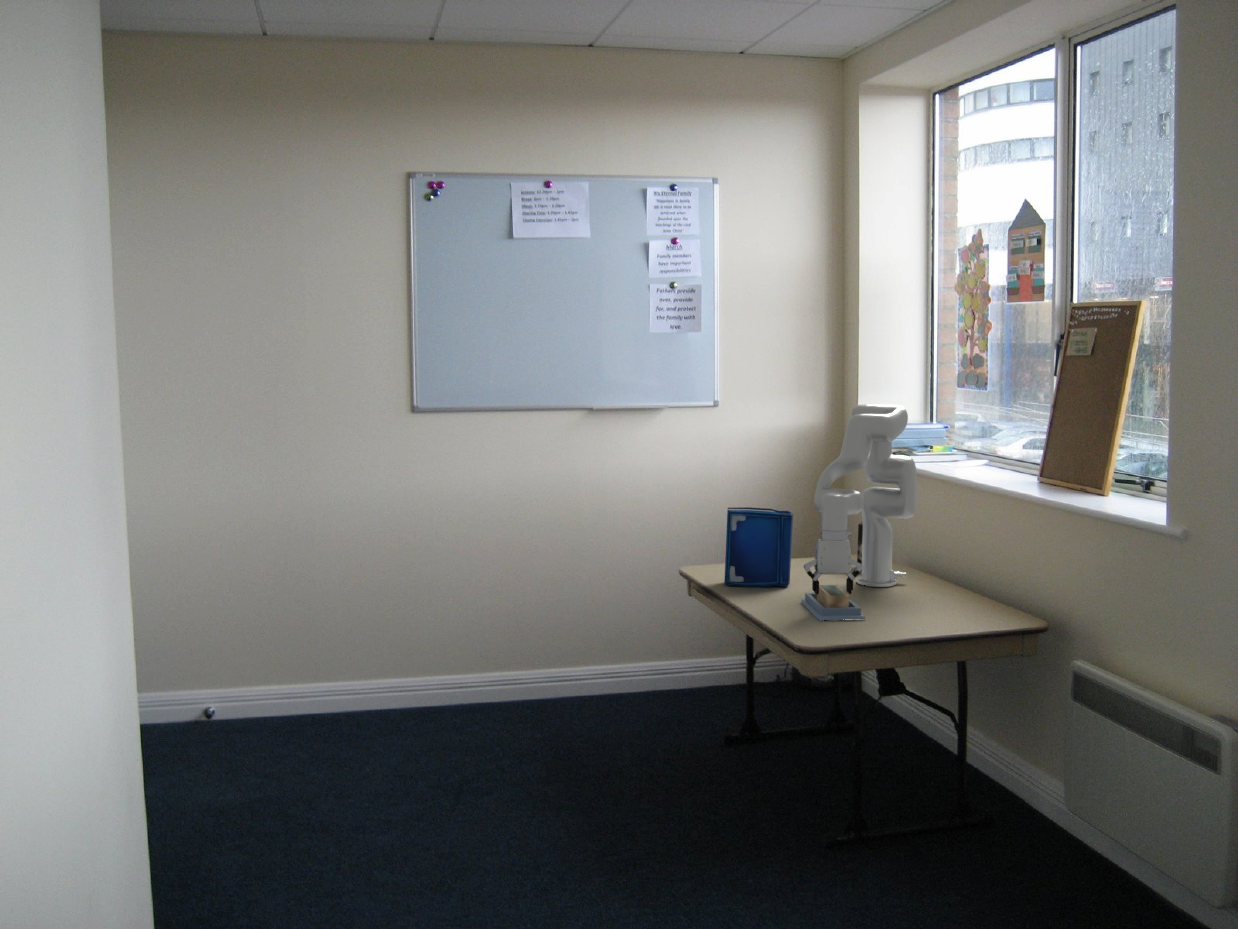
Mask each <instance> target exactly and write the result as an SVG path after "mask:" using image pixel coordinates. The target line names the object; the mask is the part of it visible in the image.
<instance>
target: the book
mask: <svg viewBox="0 0 1238 929" xmlns="http://www.w3.org/2000/svg"><path fill="white" fill-rule="evenodd" d="M793 521H794V513H792V512H791V511H789V510H777V509H773V508H766V507H765V508H763V507H751V506H750V507H749V506H748V507H741V506H740V507H738V506H737V507H727V514H726V540H725V542H726V543H725V560H724V561H725V562H724V564H725V565H724V582H723V583H724V584H723V585H725V586H735V587H744V586H749V587H748V588H772V587H784V588H785V587H787V586H789V585H790V583H791V565H792V564H791V563H792V542H793V524H794V522H793Z"/></svg>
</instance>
